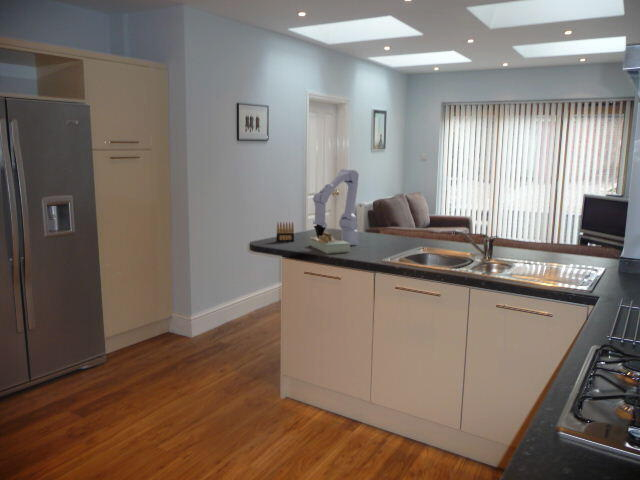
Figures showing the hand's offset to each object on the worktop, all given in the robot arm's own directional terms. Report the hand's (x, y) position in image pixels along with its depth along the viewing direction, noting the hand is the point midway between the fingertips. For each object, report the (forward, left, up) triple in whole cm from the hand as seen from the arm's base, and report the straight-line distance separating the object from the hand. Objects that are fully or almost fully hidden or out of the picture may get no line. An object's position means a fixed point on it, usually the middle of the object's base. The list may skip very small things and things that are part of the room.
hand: (319, 238), depth 292 cm
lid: (-6, -3, -2) cm, 6 cm away
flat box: (-6, +1, -6) cm, 8 cm away
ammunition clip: (+10, -28, -6) cm, 30 cm away
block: (0, +5, -1) cm, 5 cm away
